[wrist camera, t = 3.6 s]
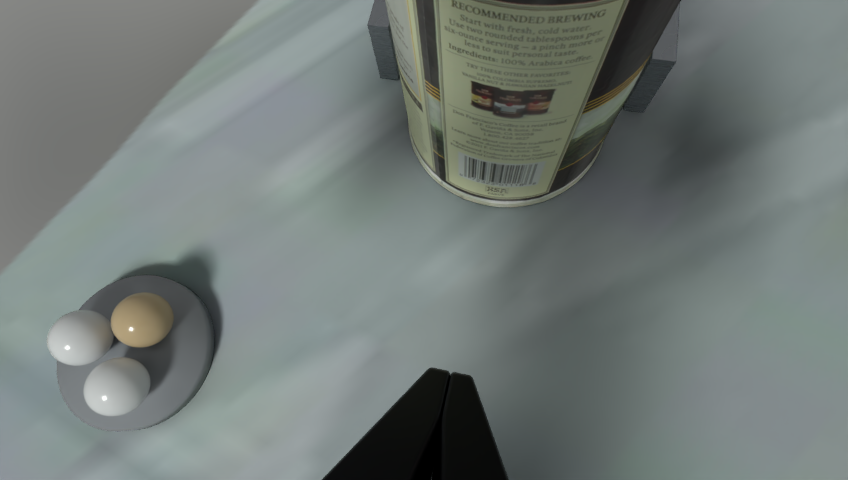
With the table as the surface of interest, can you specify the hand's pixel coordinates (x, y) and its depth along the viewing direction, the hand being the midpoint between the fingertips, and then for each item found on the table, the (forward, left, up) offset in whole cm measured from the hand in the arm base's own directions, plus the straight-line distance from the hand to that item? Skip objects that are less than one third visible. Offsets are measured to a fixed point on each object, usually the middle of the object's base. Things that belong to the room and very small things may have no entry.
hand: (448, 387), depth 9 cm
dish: (+13, +7, -13) cm, 19 cm away
